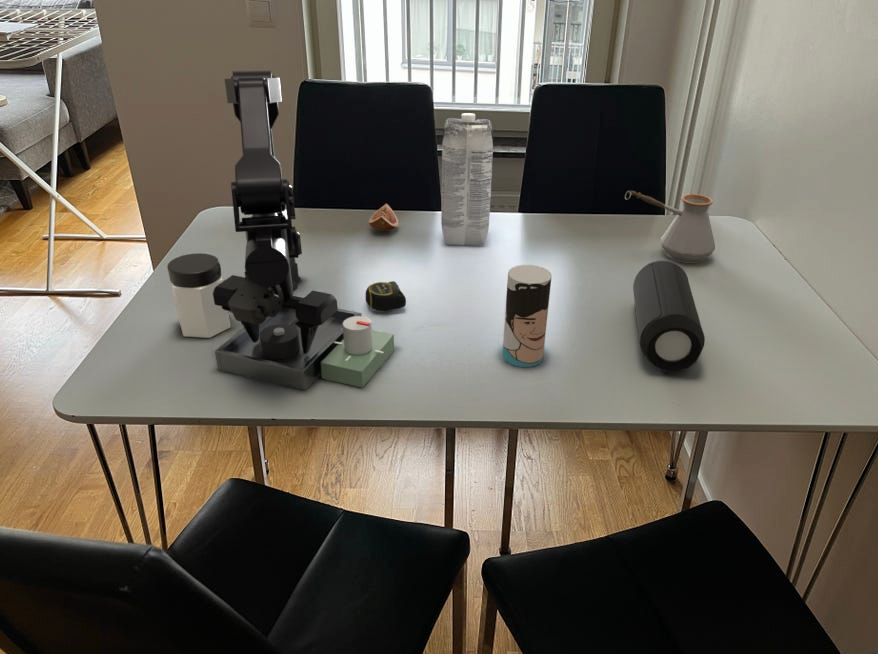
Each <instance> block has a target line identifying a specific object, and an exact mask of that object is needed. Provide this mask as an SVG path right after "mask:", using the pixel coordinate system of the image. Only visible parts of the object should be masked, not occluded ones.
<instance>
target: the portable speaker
mask: <svg viewBox="0 0 878 654" xmlns="http://www.w3.org/2000/svg"><path fill="white" fill-rule="evenodd" d="M632 284H633V285H632V293H633V298H634V299H633V300H634V307H635V317H636V323H637V324H636V325H637V331H638V332H637V333H638V340H639V346H640V350H641V352H642V355H643V356H644V357H645V359H646V360H647V362H649V363H650V364H652V365H653V366H654V368H657V369H658V370H660V371H664V372H668V373H675V372H682V371H685V370H687V369H688V368H690V367H691V366H693V365H694V364H695V363H697V361H698V360H699V358H700V357H701V354H702V352H703V350H704V348H705V343H706V342H705V341H706V340H705V338H706V337H705V333H704V331H703V327H702V324H701V321H700V316H699V312H698V309H697V306H696V303H695V299H694V297H693V296H694V295H693V292H692V289H691V285H690V282H689V277H688V275H687V272H686V271H685V270H684V268H682V267H681V266H680V265H678V264H677V263H674V262H672V261H669V260H667V259H658V260H653V261H651V262H649V263H647V264H646V265H644V266H643V267H642V268H641V269H640V270H639V271H638V273H636V276H635V278H634V280H633V283H632Z"/></svg>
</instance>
